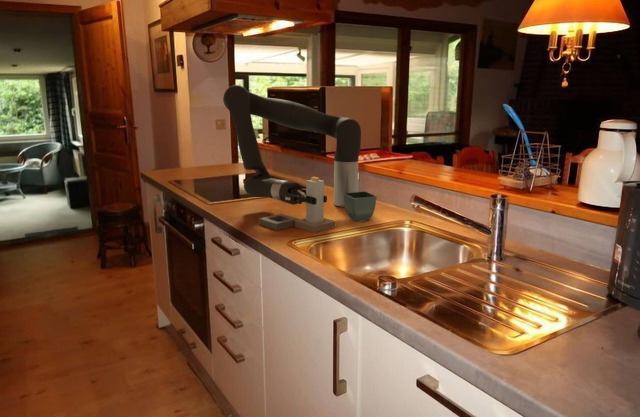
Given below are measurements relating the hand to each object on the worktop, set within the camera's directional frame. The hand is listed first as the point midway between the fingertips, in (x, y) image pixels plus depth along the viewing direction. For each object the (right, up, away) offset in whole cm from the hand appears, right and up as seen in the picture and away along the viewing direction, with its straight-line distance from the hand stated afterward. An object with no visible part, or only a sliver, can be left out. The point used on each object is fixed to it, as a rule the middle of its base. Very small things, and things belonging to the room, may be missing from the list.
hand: (320, 200), depth 154 cm
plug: (-2, -7, +4) cm, 8 cm away
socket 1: (-14, -8, +7) cm, 17 cm away
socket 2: (-2, -9, +4) cm, 10 cm away
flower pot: (+13, -7, +13) cm, 20 cm away
